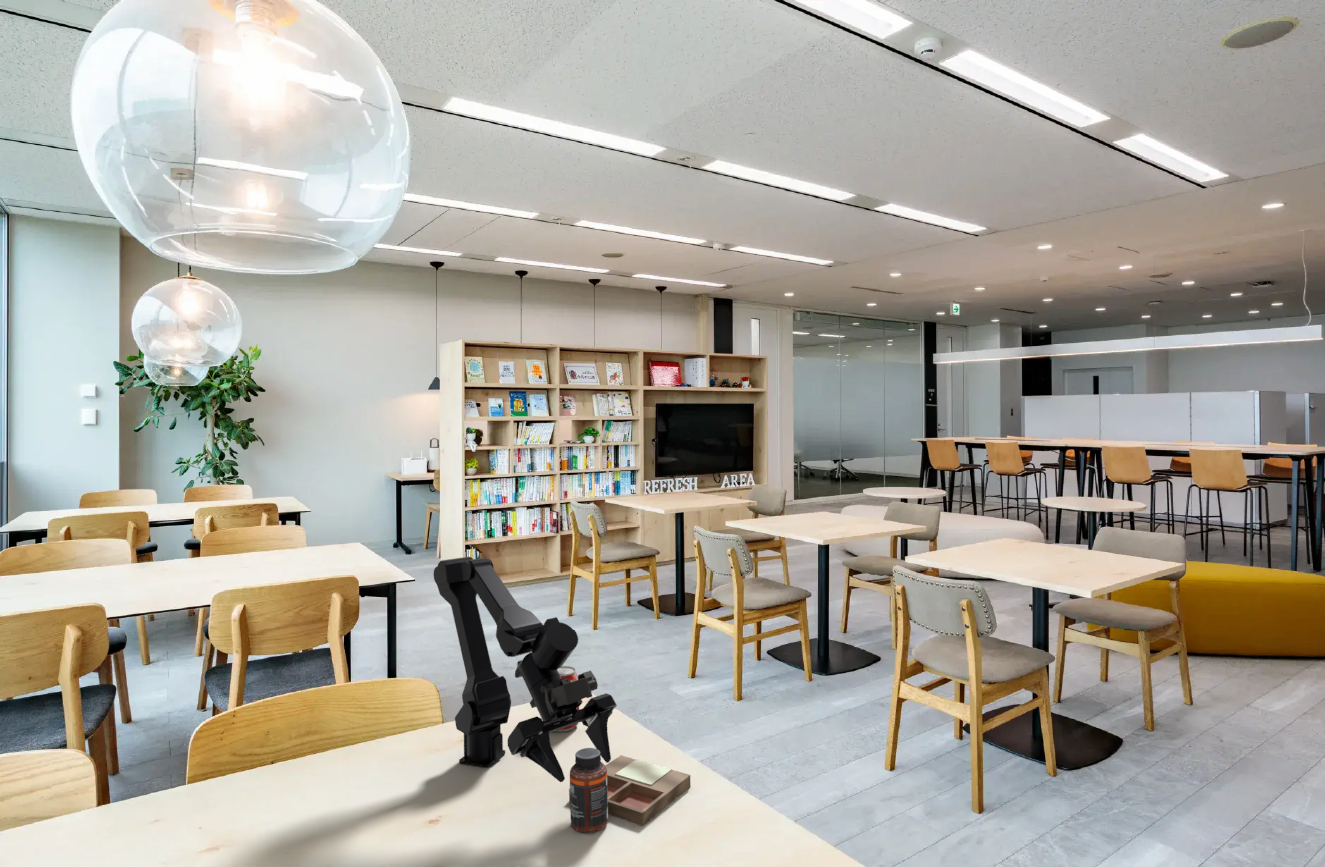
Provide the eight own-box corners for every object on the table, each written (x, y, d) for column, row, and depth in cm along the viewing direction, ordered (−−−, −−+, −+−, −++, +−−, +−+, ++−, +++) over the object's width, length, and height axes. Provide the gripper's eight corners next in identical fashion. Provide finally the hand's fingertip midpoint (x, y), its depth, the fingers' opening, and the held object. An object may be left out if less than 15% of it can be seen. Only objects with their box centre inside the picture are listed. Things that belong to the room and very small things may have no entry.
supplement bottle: (615, 819, 114) (614, 748, 114) (596, 838, 109) (595, 764, 109) (582, 811, 117) (582, 742, 117) (563, 829, 111) (562, 757, 111)
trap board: (642, 825, 112) (642, 811, 112) (569, 800, 120) (569, 787, 120) (690, 786, 125) (690, 773, 125) (621, 766, 133) (620, 754, 133)
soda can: (582, 720, 154) (581, 665, 154) (575, 734, 147) (574, 676, 147) (550, 720, 155) (549, 664, 155) (542, 733, 148) (541, 675, 148)
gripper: (515, 671, 111) (558, 765, 103) (608, 646, 124) (653, 727, 116) (490, 709, 116) (529, 801, 108) (581, 681, 129) (622, 761, 121)
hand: (586, 770), depth 113 cm, fingers open, 9 cm apart
